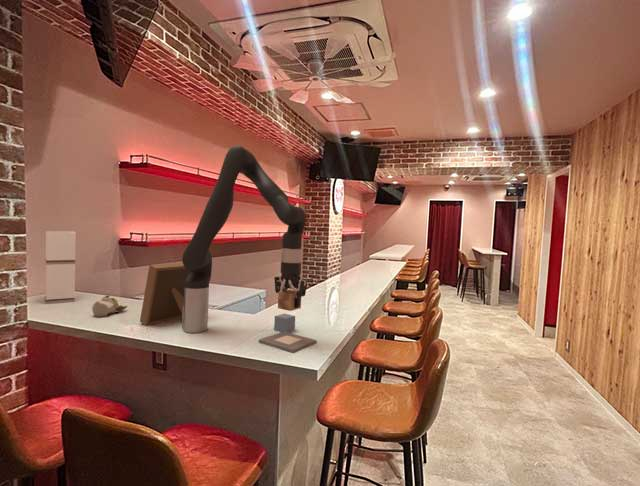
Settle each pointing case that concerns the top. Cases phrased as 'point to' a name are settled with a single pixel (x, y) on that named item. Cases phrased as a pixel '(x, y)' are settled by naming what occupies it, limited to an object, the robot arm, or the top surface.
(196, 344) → the top surface
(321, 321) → the top surface
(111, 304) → the ceramic sculpture
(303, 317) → the top surface
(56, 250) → the white stacked pillar
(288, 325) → the slate block
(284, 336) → the base plate
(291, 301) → the walnut block
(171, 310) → the photo frame
